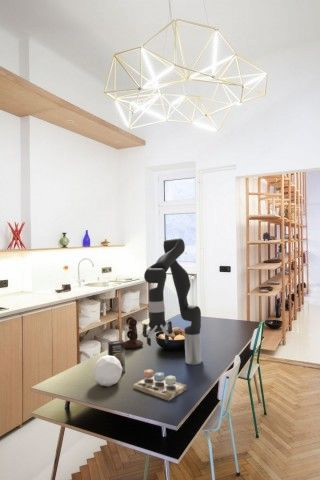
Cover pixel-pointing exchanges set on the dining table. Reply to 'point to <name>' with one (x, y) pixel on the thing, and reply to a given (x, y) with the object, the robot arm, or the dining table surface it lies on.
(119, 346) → the coffee box
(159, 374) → the three dot button
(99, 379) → the geometric shape
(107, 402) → the dining table surface
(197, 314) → the robot arm
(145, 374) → the two dot button
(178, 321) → the dining table surface
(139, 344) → the dark brown tall piece
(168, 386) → the button board
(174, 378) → the pale green button
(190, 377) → the dining table surface
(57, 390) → the dining table surface
